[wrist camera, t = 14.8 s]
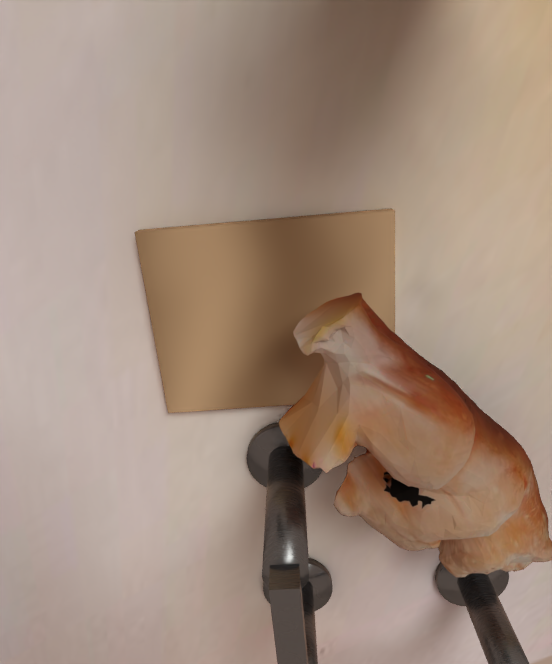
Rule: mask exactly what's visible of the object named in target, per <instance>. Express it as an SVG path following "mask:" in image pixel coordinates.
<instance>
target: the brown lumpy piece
mask: <svg viewBox="0 0 552 664" xmlns="http://www.w3.org/2000/svg"><path fill="white" fill-rule="evenodd" d="M293 334H294V337H295V338H296V340H297V342H298V345H299V348H300V350H301V351H302V352H303V354H305V355H307V356H308V355H310V354H312V353H313V352H314V353H321V355H322V356H323V358H324V365H323V367H322V369H321V370H320V372H319V373H318V375H317V377H316V378H315V380H314V381H313V383H312V385H311V386H310V388H309V389H308V391H307V393H306V394H305V395H304V396H303V397H302V398H301V399H300V400H299V401H298V402H297V403H296V404H295V405H293V406H292V407H291V408H290V409H289V410H288V411H287V412H286V414H285V415H284V416H283V417H282V418H281V419H280V421H279V426H280V429H281V431H282V433H283V434H284V436H285V437H286V439H287V441H288V443H289V445H290V447H291V448H292V451H293V453H294V454H295V455H296V456H297V457H298V458H300V459H302V460H303V461H304V462H306V463H307V464H308V465H309V466H311V467H312V468H313V469H316V468H321V469H322V470H323V471H325V472H326V473H328V472H329V471H330V470H331V469H332V468H335V467H337V466H339V465H340V464H342V463H344V462H345V461H346V460H347V459H348V457H349V456H350V454H351V452H352V450H353V449H354V447H356V446H357V445H359V446H363V447H366V449H367V452H366V454H363V455H360V456H358V457H357V458H356V457H354V460H353V461H351V462H350V463H349V464H348V468H347V475H346V477H345V480H344V482H343V483H342V485H341V487H340V488H339V490H338V491H337V492H336V497H335V501H334V506H335V508H336V509H337V511H338V512H339V513H340V514H342V515H344V516H350V517H352V516H356V515H359V516H361V517H362V518H363V519H364V520H365V521H366V522H367V523H368V524H369V525H370V526H371V527H373V528H374V529H376V530H377V531H378V532H380V533H381V534H383V535H384V536H385V537H387V538H388V539H389V540H391V541H392V542H393V543H395V544H396V545H397V546H399V547H400V548H403V549H406V550H410V551H417V550H424V549H426V548H431V549H433V548H437V547H438V548H439V551H440V555H439V559H440V561H441V563H442V564H443V565H444V567H445V568H446V569H447V570H448V571H449V572H450V573H451V574H452V575H454V576H455V577H465V576H467V575H469V574H471V573H484V574H489V573H491V572H494V571H496V570H500V569H501V570H503V571H505V572H509V571H512V570H513V571H518V570H522V569H524V568H526V567H527V566H528V565H529V564H531V563H532V562H546V561H550V560H552V541H551V540H550V538H549V532H548V517H547V513H546V510H545V508H544V506H543V504H542V501H541V498H540V494H539V489H538V484H537V480H536V477H535V475H534V470H533V467H532V464H531V461H530V459H529V458H528V456H527V454H526V452H525V451H524V449H523V448H522V446H521V445H520V444H519V443H518V442H517V441H516V440H515V438H514V437H513V436H512V435H510V434H509V433H508V432H507V431H506V430H505V429H504V428H502V427H501V426H500V425H499V424H498V423H496V422H495V421H494V420H492V419H491V418H490V417H489V416H488V415H487V414H485V413H484V412H483V411H482V410H481V409H480V408H478V406H477V405H476V404H475V403H474V402H473V401H472V400H471V399H470V398H469V397H468V396H467V395H466V394H465V393H464V392H463V391H462V390H461V389H460V387H459V386H458V385H457V384H456V383H455V382H454V381H453V380H451V379H450V378H449V377H448V376H447V375H446V374H445V373H444V372H443V371H442V370H440V369H439V368H437V367H436V366H434V365H433V364H431V363H430V362H428V361H427V360H425V359H424V358H423V357H422V356H420V355H419V354H418V353H416V352H415V351H414V350H413V349H412V348H410V347H409V346H408V345H407V344H406V343H405V342H404V341H403V340H402V339H401V338H400V337H398V336H397V335H396V334H395V333H394V332H393V331H391V330H390V329H389V328H388V327H387V326H386V324H385V323H384V322H383V321H382V320H381V319H380V318H379V316H378V315H377V314H376V313H375V312H374V311H373V310H372V309H371V307H370V306H369V305H368V304H367V303H366V302H365V301H364V299H363V298H362V293H359V292H358V293H354V294H352V295H349V296H344V297H339V298H336V299H333V300H330V301H327V302H326V303H324V304H323V305H321V306H319V307H318V308H316V309H315V310H313V311H312V312H310V313H309V314H307V315H306V316H305V317H304V318H303V319H302V320H301V321H300V322H299V323H298V325H297V326H296V328H295V330H294V331H293Z"/></svg>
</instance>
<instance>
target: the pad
mask: <svg viewBox="0 0 552 664" xmlns="http://www.w3.org/2000/svg"><path fill="white" fill-rule="evenodd" d="M135 237H136V242H137V248H138V253H139V258H140V264H141V269H142V275H143V280H144V285H145V291H146V296H147V301H148V307H149V312H150V318H151V323H152V328H153V334H154V339H155V345H156V350H157V355H158V361H159V366H160V372H161V377H162V382H163V388H164V393H165V399H166V404H167V409H168V413H175V412H190V411H205V410H220V409H235V408H250V407H265V406H280V405H295V404H296V403H297V402H298V401H299V400H300V399H301V398H302V397H303V396H304V395H305V394H306V393H307V391H308V389H309V388H310V386H311V385H312V383H313V381H314V380H315V378H316V377H317V375H318V373H319V372H320V370H321V369H322V367H323V365H324V358H323V356H322V355H321V353H314V352H313V353H312V354H310V355H308V356H307V355H305V354H303V352H302V351H301V350H300V348H299V345H298V342H297V340H296V338H295V337H294V334H293V331H294V330H295V328H296V326H297V325H298V323H299V322H300V321H301V320H302V319H303V318H304V317H305V316H306V315H307V314H309V313H310V312H312V311H313V310H315V309H316V308H318V307H319V306H321V305H323V304H324V303H326V302H327V301H330V300H333V299H336V298H339V297H344V296H349V295H352V294H354V293H358V292H359V293H362V298H363V299H364V301H365V302H366V303H367V304H368V305H369V306H370V307H371V309H372V310H373V311H374V312H375V313H376V314H377V315H378V316H379V318H380V319H381V320H382V321H383V322H384V323H385V324H386V326H387V327H388V328H389V329H390V330H391V331H393V332H394V333H395V210H393V209H381V210H369V211H357V212H345V213H334V214H322V215H310V216H298V217H286V218H274V219H263V220H251V221H239V222H227V223H215V224H204V225H192V226H180V227H168V228H156V229H144V230H138V231H136V232H135Z"/></svg>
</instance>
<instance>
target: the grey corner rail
mask: <svg viewBox="0 0 552 664" xmlns="http://www.w3.org/2000/svg"><path fill="white" fill-rule="evenodd" d="M247 464H248V468H249V471H250V472H251V474H252V476H253V477H254V478H255V479H256V480H257V481H258V482H259V483H260V484H261V485H263V486H265V487H267V496H266V514H265V533H264V551H263V569H262V578H263V581H264V583H263V591H264V595H265V597H266V599H267V601H268V602H269V603H270V604H271V612H272V621H273V629H274V637H275V645H276V654H277V662H278V664H318V660H317V644H316V628H315V611H316V610H318V609H320V608H321V607H323V606H324V605H325V604H326V603H327V602H328V600H329V599H330V597H331V594H332V580H331V576H330V573H329V571H328V570H327V569H326V567H325V566H324V565H322V564H321V563H319V562H318V561H316V560H314V559H311V558H308V545H307V526H306V507H305V489H304V488H305V487H307V486H309V485H310V484H312V483H313V482H314V481H315V480H316V479H317V478H318V477H319V475H320V474H321V472H322V469H321V468H316V469H313V468H312V467H311V466H309V465H308V464H307V463H306V462H304V461H303V460H302V459H300V458H298V457H297V456H296V455H295V454H294V453H293V451H292V448H291V447H290V445H289V443H288V441H287V439H286V437H285V436H284V434H283V433H282V431H281V429H280V426H279V422H278V423H274V424H271V425H268V426H266V427H264V428H263V429H261V430H260V431H259V432H257V433H256V434H255V436H254V437H253V438H252V440H251V442H250V444H249V447H248V454H247ZM435 580H436V583H437V586H438V589H439V592H440V593H441V595H442V596H443V597H444V598H445V599H446V600H448V601H449V602H451V603H453V604H456V605H460V606H466V607H467V610H468V613H469V615H470V618H471V620H472V623H473V625H474V628H475V631H476V633H477V636H478V638H479V641H480V643H481V646H482V649H483V651H484V654H485V656H486V659H487V662H488V664H529V662H528V660H527V658H526V656H525V653H524V651H523V649H522V647H521V645H520V643H519V641H518V638H517V636H516V634H515V632H514V630H513V628H512V626H511V623H510V621H509V619H508V617H507V615H506V613H505V611H504V608H503V606H502V604H501V602H500V600H499V598H498V596H499V595H500V594H501V593H502V592H503V591H504V590H505V588H506V586H507V584H508V580H509V574H508V572H505V571H503V570H501V569H500V570H496V571H494V572H491V573H489V574H484V573H471V574H469V575H467V576H465V577H455V576H454V575H452V574H451V573H450V572H449V571H448V570H447V569H446V568H445V567H444V565H443V564H442V563H441V562H440V564H439V565H438V567H437V570H436V574H435Z"/></svg>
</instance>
